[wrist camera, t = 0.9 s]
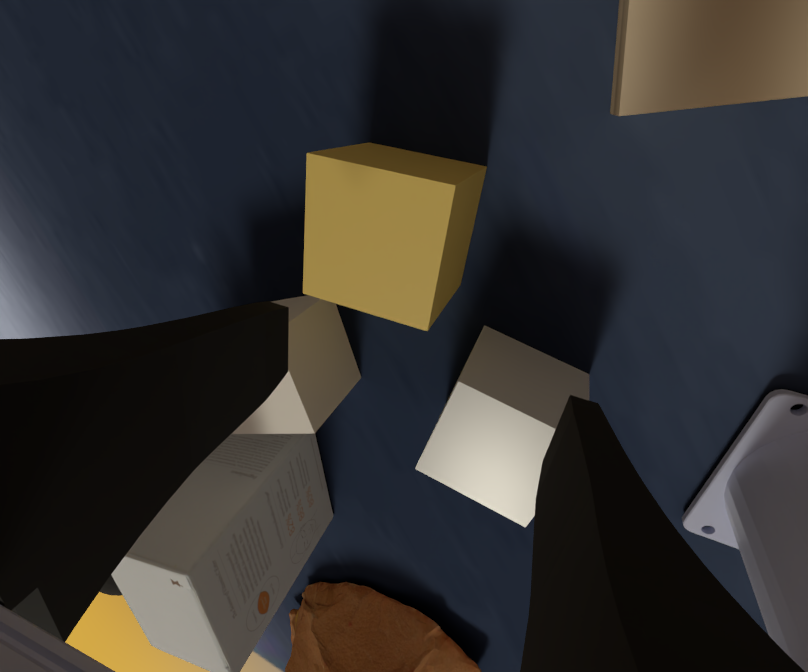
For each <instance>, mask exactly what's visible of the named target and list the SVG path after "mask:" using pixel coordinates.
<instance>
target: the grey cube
mask: <svg viewBox="0 0 808 672" xmlns="http://www.w3.org/2000/svg"><path fill="white" fill-rule="evenodd" d="M570 395H573V396H576V397H579V398H582V399H585V400H589V374H587V373H585V372H583V371H581V370H579V369H577V368H575V367H573V366H570V365H568V364H566V363H564V362H562V361H560V360H558V359H555V358H553V357H551V356H549V355H547V354H545V353H543V352H541V351H538V350H536V349H534V348H532V347H530V346H528V345H526V344H523V343H521V342H519V341H517V340H515V339H513V338H511V337H509V336H506V335H504V334H502V333H500V332H498V331H496V330H494V329H491V328H489V327H487V326H485V325H484V327H483V329H482V331H481V333H480V335H479V337H478V339H477V341H476V343H475V345H474V347H473V349H472V351H471V354H470V356H469V358H468V360H467V362H466V364H465V366H464V368H463V370H462V372H461V374H460V376H459V378H458V380H457V382H456V384H455V386H454V388H453V390H452V392H451V394H450V396H449V398H448V400H447V402H446V404H445V407H444V409H443V411H442V413H441V415H440V417H439V419H438V421H437V423H436V425H435V428H434V430H433V432H432V434H431V436H430V438H429V440H428V442H427V444H426V447H425V449H424V451H423V453H422V455H421V457H420V459H419V461H418V463H417V466H416V468H415V469H417V470H418V471H420V472H422V473H424V474H426V475H428V476H430V477H432V478H433V479H435V480H437V481H439V482H441V483H443V484H445V485H447V486H449V487H450V488H452V489H454V490H456V491H458V492H460V493H462V494H464V495H465V496H467V497H469V498H471V499H473V500H475V501H477V502H479V503H480V504H482V505H484V506H486V507H488V508H490V509H492V510H494V511H496V512H497V513H499V514H501V515H503V516H505V517H507V518H509V519H511V520H512V521H514V522H516V523H518V524H520V525H522V526H524V527H526V526H527V525H528V523H529V522H530V521H531V519H532V518H533V517H534V516H535V503H536V495H537V489H538V483H539V478H540V473H541V467H542V462H543V459H544V456H545V454H546V452H547V449H548V447H549V444H550V442H551V439H552V437H553V435H554V432H555V430H556V427H557V425H558V423H559V420H560V418H561V415H562V413H563V411H564V408H565V406H566V403H567V401H568V398H569V396H570Z"/></svg>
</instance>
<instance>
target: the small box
mask: <svg viewBox="0 0 808 672" xmlns="http://www.w3.org/2000/svg"><path fill="white" fill-rule="evenodd" d="M332 518H333V512H332V507H331V503H330V498H329V494H328V490H327V485H326V480H325V476H324V471H323V466H322V462H321V457H320V453H319V449H318V444H317V440H316V435H315V433H312V434H231V435H230V436H229V437H228V438H226V439H225V440H224V441H223V442H222V443H221V444H220V445H219V446H218V447H217V448H216V449H215V450H214V451H213V452H212V453H211V454H210V455H209V456H208V457H207V458H206V459H205V460H204V461H203V462H202V463H201V464H200V465H199V466H198V467H197V468H196V469H195V470H194V471H193V472H192V473H191V474H190V476H189V477H188V478H187V479H186V480H185V482H184V483H183V484H182V485H181V486H180V487H179V489H178V490H177V491H176V492H175V493H174V494H173V496H172V497H171V498H170V499H169V500H168V502H167V503H166V504H165V505H164V506H163V508H162V509H161V510H160V511H159V513H158V514H157V515H156V516H155V518H154V519H153V520H152V521H151V523H150V524H149V525H148V526H147V528H146V529H145V530H144V531H143V533H142V534H141V535H140V537H139V538H138V539H137V541H136V542H135V543H134V545H133V546H132V547H131V549H130V550H129V551H128V553H127V554H126V555H125V557H124V558H123V559H122V561H121V562H120V563H119V565H118V566H117V567H116V569H115V570H114V571H113V573H112V574H111V575H112V577H113V579H114V581H115V583H116V584H117V586H118V588H119V590H120V591H121V593H122V595H123V596H124V598H125V600H126V602H127V604H128V605H129V607H130V609H131V611H132V612H133V614H134V616H135V617H136V619H137V621H138V623H139V624H140V626H141V628H142V630H143V632H144V633H145V635H146V637H147V639H148V640H149V642H150V644H151V645H152V646H154V647H156V648H157V649H159V650H162V651H164V652H166V653H169V654H171V655H173V656H176V657H178V658H180V659H183V660H185V661H187V662H190V663H192V664H195V665H197V666H199V667H201V668H203V669H206V670H208V671H210V672H240V671H241V669H242V667H243V665H244V664H245V662H246V661H247V659H248V657H249V656H250V654H251V652H252V651H253V649H254V647H255V646H256V644H257V642H258V641H259V639H260V638H261V636H262V634H263V633H264V631H265V629H266V628H267V626H268V624H269V623H270V621H271V619H272V618H273V616H274V614H275V613H276V611H277V609H278V608H279V606H280V604H281V603H282V601H283V599H284V598H285V596H286V594H287V593H288V591H289V589H290V588H291V586H292V584H293V583H294V581H295V579H296V578H297V576H298V575H299V573H300V571H301V569H302V568H303V566H304V564H305V563H306V561H307V559H308V558H309V556H310V554H311V553H312V551H313V550H314V548H315V546H316V545H317V543H318V541H319V540H320V538H321V536H322V535H323V533H324V531H325V530H326V528H327V526H328V525H329V523H330V521H331V520H332Z"/></svg>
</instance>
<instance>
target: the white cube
mask: <svg viewBox="0 0 808 672" xmlns="http://www.w3.org/2000/svg"><path fill="white" fill-rule="evenodd" d="M271 302H273V303H276V304H280V305H283V306H286V307H289V335H288V373H287V374H286V375H285V377H284V378H283V379H282V381H281V382H280V383H279V385H278V386H277V387H276V389H275V390H274V391H273V392H272V394H271V395H270V396H269V397H268V398H267V400H266V401H265V402H264V403H263V404H262V405H261V406H260V407H259V408H258V409H257V410H256V411H255V412H254V413H253V414H252V415H251V416H249V417H248V418H247V419H246V420H245V421H244V422H243V423H242V424H241V425H240V426H239V427H238V428H237V429H236V430H235V431H234V432H233V433H232V434H312V433H316V431H317V430H318V429H319V428H320V427H321V425H322V424H323V423H324V422H325V421H326V419H327V418H328V417H329V416H330V414H331V413H332V412H333V411H334V410H335V408H336V407H337V406H338V405H339V404H340V402H341V401H342V400H343V399H344V398H345V396H346V395H347V394H348V393H349V392H350V390H351V389H352V388H353V387H354V386H355V384H356V383H357V382H358V381H359V380H360V378H361V375H360V372H359V370H358V367H357V364H356V361H355V358H354V355H353V352H352V349H351V346H350V344H349V341H348V338H347V335H346V332H345V329H344V326H343V323H342V320H341V317H340V315H339V312H338V309H337V306H336V303H333V302H329V301H326V300H323V299H319V298H316V297H313V296H310V295H307V296H301V297H295V298H289V299H283V300H277V301H271Z"/></svg>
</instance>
